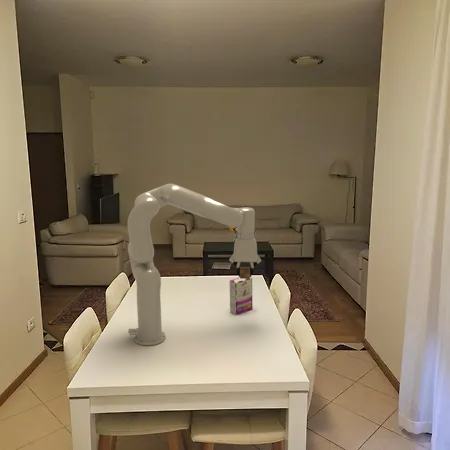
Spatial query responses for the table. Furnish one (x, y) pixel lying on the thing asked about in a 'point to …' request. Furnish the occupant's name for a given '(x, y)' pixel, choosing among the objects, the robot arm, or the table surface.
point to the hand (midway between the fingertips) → (244, 275)
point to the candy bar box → (240, 295)
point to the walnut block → (244, 272)
